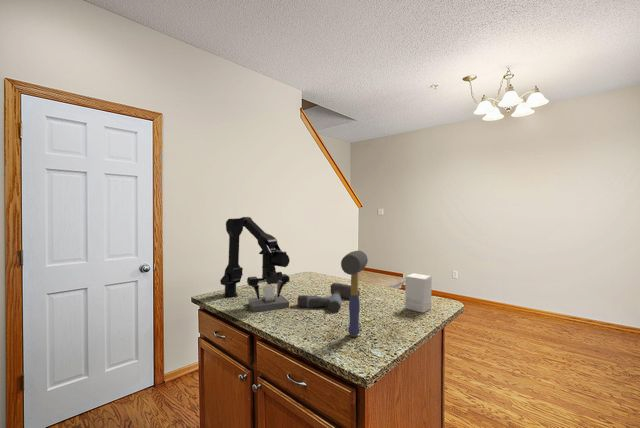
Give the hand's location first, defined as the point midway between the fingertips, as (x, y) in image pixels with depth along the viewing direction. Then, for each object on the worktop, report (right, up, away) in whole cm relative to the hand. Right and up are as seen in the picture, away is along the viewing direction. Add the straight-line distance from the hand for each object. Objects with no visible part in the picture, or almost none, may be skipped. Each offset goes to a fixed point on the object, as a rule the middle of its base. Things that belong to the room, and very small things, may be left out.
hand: (268, 298), depth 134 cm
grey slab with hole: (0, -4, 0) cm, 4 cm away
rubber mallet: (+36, -5, -31) cm, 48 cm away
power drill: (+24, -4, +3) cm, 25 cm away
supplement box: (+69, -4, -2) cm, 69 cm away
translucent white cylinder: (0, -4, 0) cm, 4 cm away
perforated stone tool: (+37, -4, +13) cm, 39 cm away
